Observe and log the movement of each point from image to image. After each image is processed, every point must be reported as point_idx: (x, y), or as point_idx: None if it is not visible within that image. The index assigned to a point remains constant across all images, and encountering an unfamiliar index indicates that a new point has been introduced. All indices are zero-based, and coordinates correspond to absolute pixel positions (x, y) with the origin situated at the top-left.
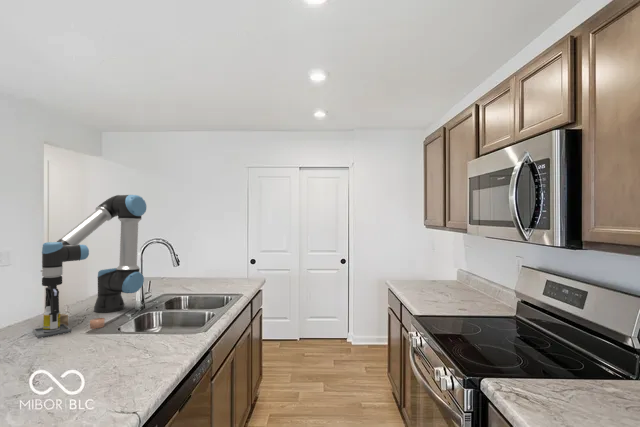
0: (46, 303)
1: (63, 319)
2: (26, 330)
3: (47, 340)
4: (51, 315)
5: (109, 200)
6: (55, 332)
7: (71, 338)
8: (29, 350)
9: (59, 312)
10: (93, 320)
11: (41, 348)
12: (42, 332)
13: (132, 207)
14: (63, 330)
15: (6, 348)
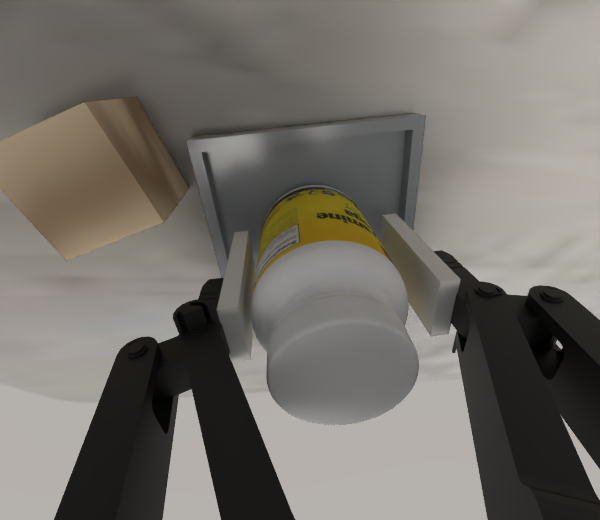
0: (170, 446)
1: (137, 149)
2: (162, 334)
3: (478, 253)
4: (444, 320)
5: None
6: (412, 219)
7: (576, 131)
8: None
9: (376, 255)
10: None
11: (591, 279)
12: None
13: None
14: (418, 170)
15: (448, 377)
